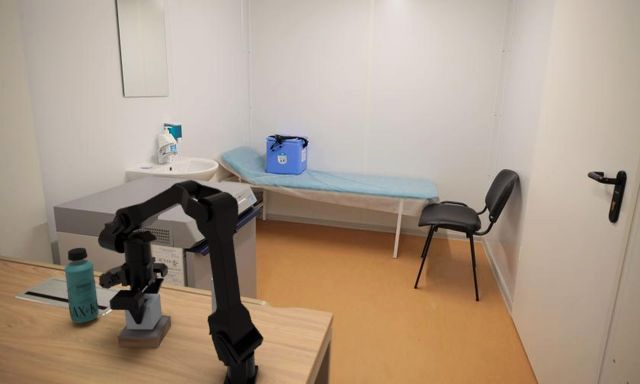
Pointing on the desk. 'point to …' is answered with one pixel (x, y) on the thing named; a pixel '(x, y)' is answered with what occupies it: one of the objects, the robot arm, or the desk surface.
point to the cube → (147, 314)
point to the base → (145, 335)
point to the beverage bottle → (81, 286)
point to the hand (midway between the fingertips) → (144, 316)
